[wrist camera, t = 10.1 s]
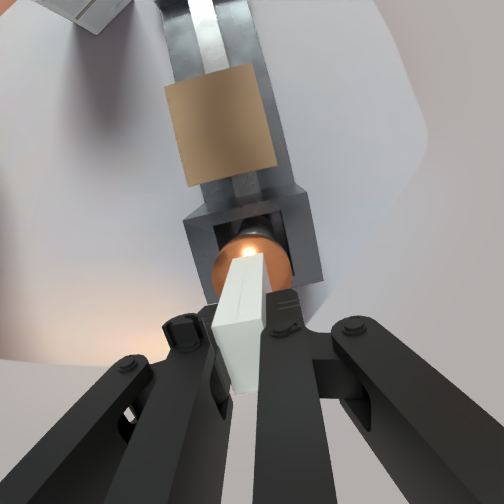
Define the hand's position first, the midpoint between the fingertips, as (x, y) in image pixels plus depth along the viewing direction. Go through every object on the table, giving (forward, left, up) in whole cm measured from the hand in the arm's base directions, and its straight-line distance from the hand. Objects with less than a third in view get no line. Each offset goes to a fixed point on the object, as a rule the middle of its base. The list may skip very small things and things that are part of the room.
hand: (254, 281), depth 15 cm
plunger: (0, 0, -11) cm, 11 cm away
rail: (0, +12, -14) cm, 18 cm away
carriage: (0, +8, -13) cm, 15 cm away
